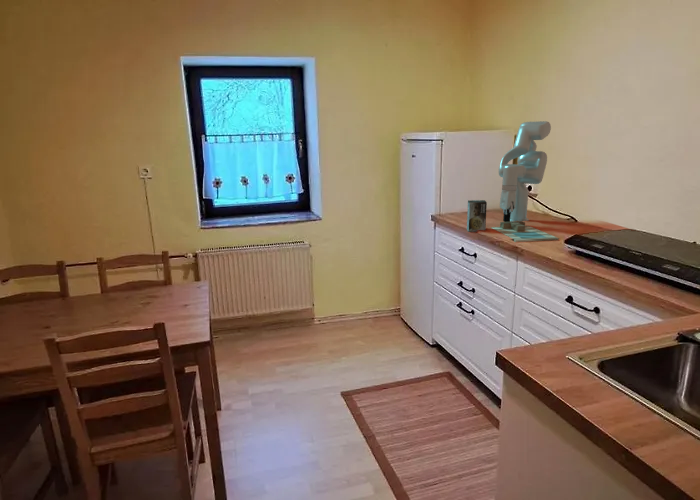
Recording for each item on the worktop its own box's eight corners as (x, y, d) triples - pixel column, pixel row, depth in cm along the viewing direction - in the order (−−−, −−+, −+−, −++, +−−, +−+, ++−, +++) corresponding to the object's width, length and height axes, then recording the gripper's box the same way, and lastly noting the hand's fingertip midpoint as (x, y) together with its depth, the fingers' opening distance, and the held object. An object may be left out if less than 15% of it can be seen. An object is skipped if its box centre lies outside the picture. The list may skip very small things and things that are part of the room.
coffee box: (483, 229, 246) (485, 200, 242) (485, 231, 240) (487, 201, 236) (466, 229, 247) (467, 200, 243) (468, 231, 241) (469, 201, 237)
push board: (490, 229, 246) (490, 227, 246) (528, 227, 248) (529, 225, 248) (515, 242, 217) (515, 239, 217) (558, 240, 219) (558, 238, 219)
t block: (500, 227, 245) (500, 222, 245) (521, 226, 247) (521, 221, 246) (509, 232, 234) (510, 226, 233) (531, 231, 235) (532, 225, 234)
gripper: (496, 187, 252) (494, 219, 257) (508, 189, 238) (505, 224, 242) (509, 187, 253) (507, 219, 257) (522, 189, 239) (519, 223, 243)
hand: (506, 221), depth 250 cm, fingers closed
